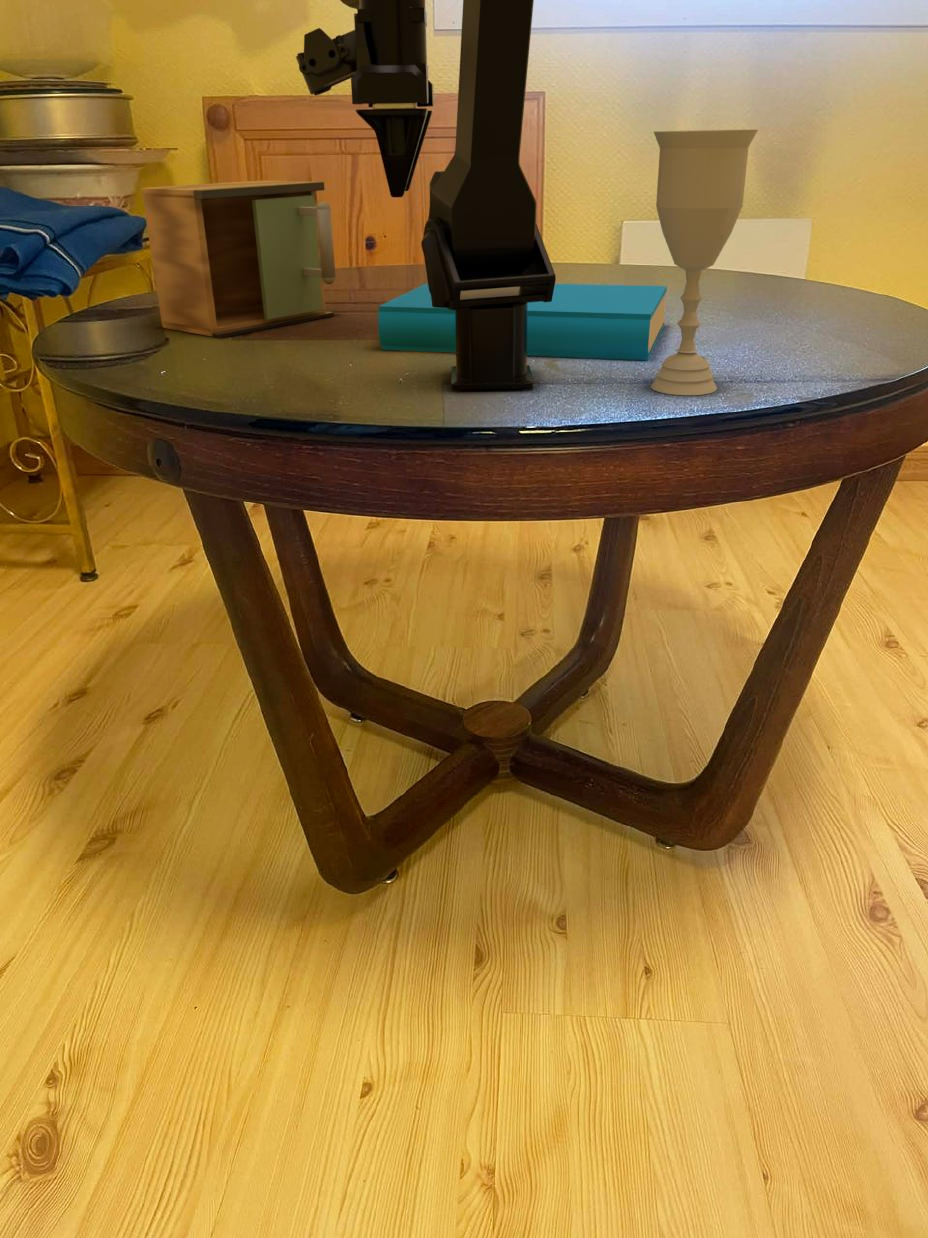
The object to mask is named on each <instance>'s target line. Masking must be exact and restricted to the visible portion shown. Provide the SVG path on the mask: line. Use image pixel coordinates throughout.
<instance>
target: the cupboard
mask: <svg viewBox="0 0 928 1238" xmlns="http://www.w3.org/2000/svg"><path fill="white" fill-rule="evenodd" d="M325 189H326V188H325V182H324V181H304V180H303V181H300V180H271V179H270V180H264V179H262V180H261V179H260V180H246V181H231V182H230V181H229V182H215V183H214V182H213V183H200V184H183V185H182V184H181V185H170V186H167V185H166V186H151V187H141V195H142V203H143V209H144V215H145V221H146V222H145V224H146V229H147V236H148V240H149V241H148V243H149V248H150V255H151V262H152V268H153V269H152V270H153V276H154V281H155V288H156V295H157V302H158V307H159V313H160V321H161V327H162V328H163V329H167V330H172V331H179V332H184V333H191V334H195V335H200V336H207V337H212V338H217V339H224V338H229V337H235V336H239V335H244V334H249V333H254V332H259V331H265V330H271V329H274V328H280V327H285V326H289V325H294V324H295V325H296V324H300V323H305V322H310V321H316V320H319V319H326V318H331V317H334V316H335V312H334V311H329V310H328V311H327V308H326V297H325V282H324V281H323V279H322V278H320V279H321V292H322V304H323V310H319V311H314V312H308V313H303V314H298V315H293V316H287V317H282V318H277V319H271V320H265V319H264V310H263V301H262V291H261V282H260V273H259V263H258V254H257V244H256V235H255V225H254V216H253V206H252V200H254V199H266V198H279V197H291V196H304V195H314V203H315V207H317V205H318V194H317V193H318V192H319V191H325ZM316 229H317V241H318V254H319V267H320V269H321V258H320V245H319V232H318V219H317V216H316Z"/></svg>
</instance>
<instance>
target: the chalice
mask: <svg viewBox="0 0 928 1238" xmlns="http://www.w3.org/2000/svg"><path fill="white" fill-rule="evenodd" d="M758 131H759V129H696V130H695V129H694V130H657V131H656V130H655V131H653V134H654V137H655V140H656V143H657V144H658V147H659V155H658V156H659V157H658V170H657V171H658V172H657V186H656V200H655V201H656V203H655V208H656V210H657V215H658V219H659V223H660V228H661V232H662V235H663V238H664V240H665V243H666V245H667V248H668V250H669V253H670V256H671V258H672V261H673V264H674V265H675V266H677V267H678V268H680V269H682V270H684V272H685V278H686V279H685V280H686V281H685V285H684V290H683V294H681V296H680V297H679V298H680V300H681V302H682V306H683V313H682V316H681V319H680V320H678V321H677V325H678V327H679V329H680V334H681V341H680V345H679V348H678V349H676V350H675V351H676V353H674V354H672V355H668V356H667V357H666V358H665V359H664V360H663V361H662V362H661V364H660V365H661V367H660V368H659V370H658V372H656V378H655V379H654V381H653V382H652V383H651V386H650V388H651V389H652V390H653V391H655V392H658V393H662V394H666V395H673V396H701V395H708V394H712V393H714V392H716V391H717V390H718V387H717V385H716V383H715V381H714V380H713V379H714V374H713V372H712V370H711V368H710V367H711V364H710V363H709V361H708V360H707V358H706V357H705V356H703V355H699V354H698V350H697V349H696V347H695V336H696V332H697V329H698V328H699V327H700V326H701V325H702V323H701V322H700V320H699V319H698V313H697V310H698V307H699V304H700V303H701V301H702V299H703V297H702V295H701V291H700V279H701V275H702V271H704V270H707V269H708V268H710V267H712V266H714V265H715V263H716V261H717V260H718V258H719V256H720V254H721V253H722V251H723V249H724V247H725V245H726V243H727V241H728V240H729V238H730V236H731V234H732V232H733V231H734V227H735V225H736V222H737V220H738V218H739V216H740V213H741V211H742V208H743V206H744V205H743V204H744V195H745V187H746V186H745V185H746V176H747V167H748V166H747V165H748V156H749V147H750V145H751V144H752V142H753V140H754V139H755V136H756V135H757V133H758Z"/></svg>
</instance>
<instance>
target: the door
mask: <svg viewBox="0 0 928 1238" xmlns="http://www.w3.org/2000/svg"><path fill="white" fill-rule="evenodd" d="M252 206H253V216H254V225H255V235H256V244H257V254H258V263H259V273H260V282H261V291H262V301H263V310H264V319H265V320H271V319H277V318H282V317H287V316H293V315H298V314H303V313H308V312H314V311H319V310H323V304H322V292H321V279H320V278H322V279H323V282H324V284H326V285H331V284H334V282H335V281H336V266H335V264H336V263H335V253H334V252H335V251H334V238H333V224H332V223H333V222H332V209H331V205H330V204H329V203H328V202H327V201H320V202H319V203H317V207H315V203H314V195H304V196H291V197H279V198H266V199H254V200H252ZM316 216H317V219H318V232H319V245H320V258H321V269H320V267H319V254H318V241H317V229H316Z"/></svg>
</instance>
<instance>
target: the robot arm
mask: <svg viewBox="0 0 928 1238" xmlns="http://www.w3.org/2000/svg"><path fill="white" fill-rule="evenodd" d="M339 1H340V2H341V3H342V4H343V5H345V6H347V7H349V8H351V9H354V10H355V9H356V11H357V12H355V13H353V19H354V29H353V30H350V31H349V32H346V33H343V34H341V35H340V34H337V35H336V36H335V37H334V38H331V36H329V35H328V34H327V33H326V32H325V31H324V30H323V29H322V28H321V27H318V28H315V29H313V30H311V31H309V32H307V33H305V34H304V35H303V51H302V52H299V53H297V54H296V56H295V59H296V62H297V64H298V70H299V72H300V73H301V75H302V76H303V79H304V81H305V84H306V86H307V88H308V91H309V94H310V95H311V96H312V95H314V96H319V95H322V94H325V93H327V92H329V91H331V90H332V87H334V86H337V85H339V84H341V83H343V82H345V81H347V80H350V87H351V89H350V91H351V101H352V102H351V105H359V106H360V105H361V106H362V105H368V108H369V109H363V108H361V109H355V113H356V114H357V115H358V117H360V118H361V119H362V120H363V121H364V122H365V123H366V124H367V125H368V126H369V127H370V128H371V129H372V130H373V131H374V133H375V137H376V141H377V145H378V148H379V153H380V157H381V162H382V166H383V170H384V174H385V178H386V182H387V187H388V190H389V194H390V196H391V198H403V197H404V195H405V192H408V191H409V190H410V188H411V185H412V181H413V177H414V175H415V171H416V168H417V164H418V161H419V158H420V155H421V152H422V148H423V146H424V141H425V139H426V135H427V132H428V128H429V126H430V121H431V119H432V117H433V113H434V112H433V110H429V108H428V107H431V108H433V107H435V106H434V102H435V101H434V99H435V98H434V85H433V83H432V82H431V81H430V80H429V65H428V50H427V49H428V48H427V45H428V44H427V27H428V15H427V10H426V0H339ZM534 3H535V2H534V0H462V13H461V14H462V16H461V34H460V37H461V38H460V53H459V56H460V57H459V73H458V91H457V109H456V111H457V112H456V129H455V147H454V154H453V157H452V158H451V160H450V161H449V162H448V164H447V166H446V167H445V169H444V170H443V171H442V170H440V171H439V170H438V171H434V172H433V174H432V177H431V178H430V182H429V210H428V217H427V220H426V223H425V225H424V229H423V237H422V240H421V241H420V242H421V244H420V245H421V250H422V253H423V259H424V265H425V266H424V267H425V272H426V279H427V283H428V287H429V292H430V294H431V300H432V307H436V308H447V309H450V310H455V333H456V353H455V365H454V366H451V375H450V376H451V377H450V389H452V390H502V389H504V390H506V389H533V388H534V385H535V381H534V377H533V373H532V370H531V366H530V365H528V355H527V308H528V303H529V302H541V301H542V302H551V301H552V297H553V292H554V286H555V284H556V280H557V277H556V273H555V270H554V268H553V265H552V262H551V259H550V257H549V254H548V251H547V249H546V246H545V243H544V241H543V238H542V235H541V232H540V229H539V226H538V224H537V200H536V198H535V195H534V194H533V191H532V189H531V187H530V185H529V182H528V180H527V178H526V176H525V174H524V171H523V169H522V167H521V164H520V159H521V158H520V157H521V147H522V146H521V144H522V134H523V124H524V113H525V112H524V110H525V101H526V90H527V80H528V78H527V77H528V68H529V58H530V57H529V56H530V46H531V35H532V23H533V12H534ZM371 108H372V109H371Z"/></svg>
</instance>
